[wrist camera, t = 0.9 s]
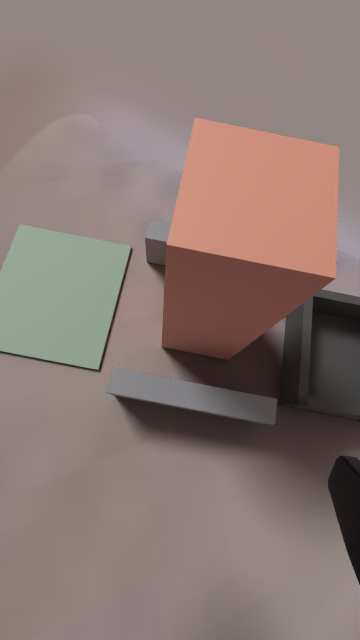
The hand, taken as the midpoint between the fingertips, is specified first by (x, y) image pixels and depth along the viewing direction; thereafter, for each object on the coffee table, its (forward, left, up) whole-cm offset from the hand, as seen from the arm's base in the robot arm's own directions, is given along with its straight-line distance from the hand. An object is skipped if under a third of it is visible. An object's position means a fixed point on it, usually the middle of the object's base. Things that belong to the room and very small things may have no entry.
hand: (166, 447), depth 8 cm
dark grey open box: (0, -13, -13) cm, 19 cm away
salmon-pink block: (+6, -5, -13) cm, 15 cm away
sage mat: (+12, +4, -13) cm, 18 cm away
